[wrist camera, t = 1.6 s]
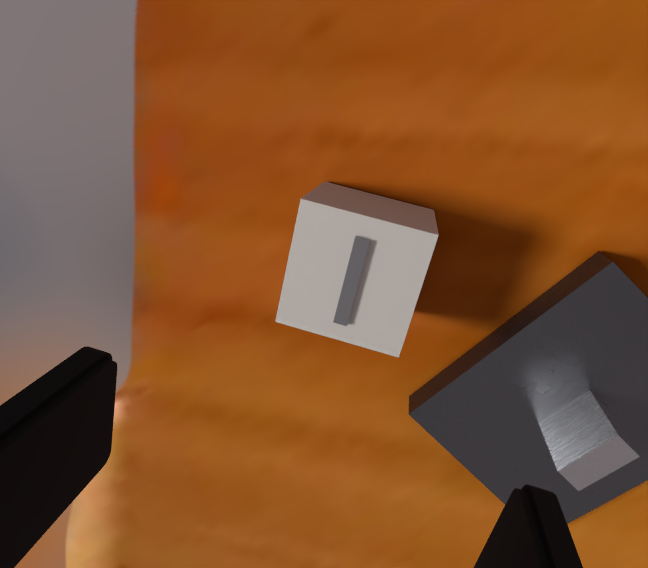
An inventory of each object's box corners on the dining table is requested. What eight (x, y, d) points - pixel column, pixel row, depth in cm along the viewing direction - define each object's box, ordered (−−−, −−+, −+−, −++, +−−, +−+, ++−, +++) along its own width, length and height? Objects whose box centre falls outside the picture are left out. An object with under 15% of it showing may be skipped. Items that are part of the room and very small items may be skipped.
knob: (402, 310, 29) (398, 360, 23) (301, 282, 29) (273, 324, 24) (433, 209, 27) (439, 236, 21) (324, 181, 27) (299, 199, 21)
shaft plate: (533, 513, 32) (558, 597, 26) (409, 396, 31) (407, 458, 25) (738, 397, 27) (821, 470, 21) (598, 250, 26) (649, 288, 20)
